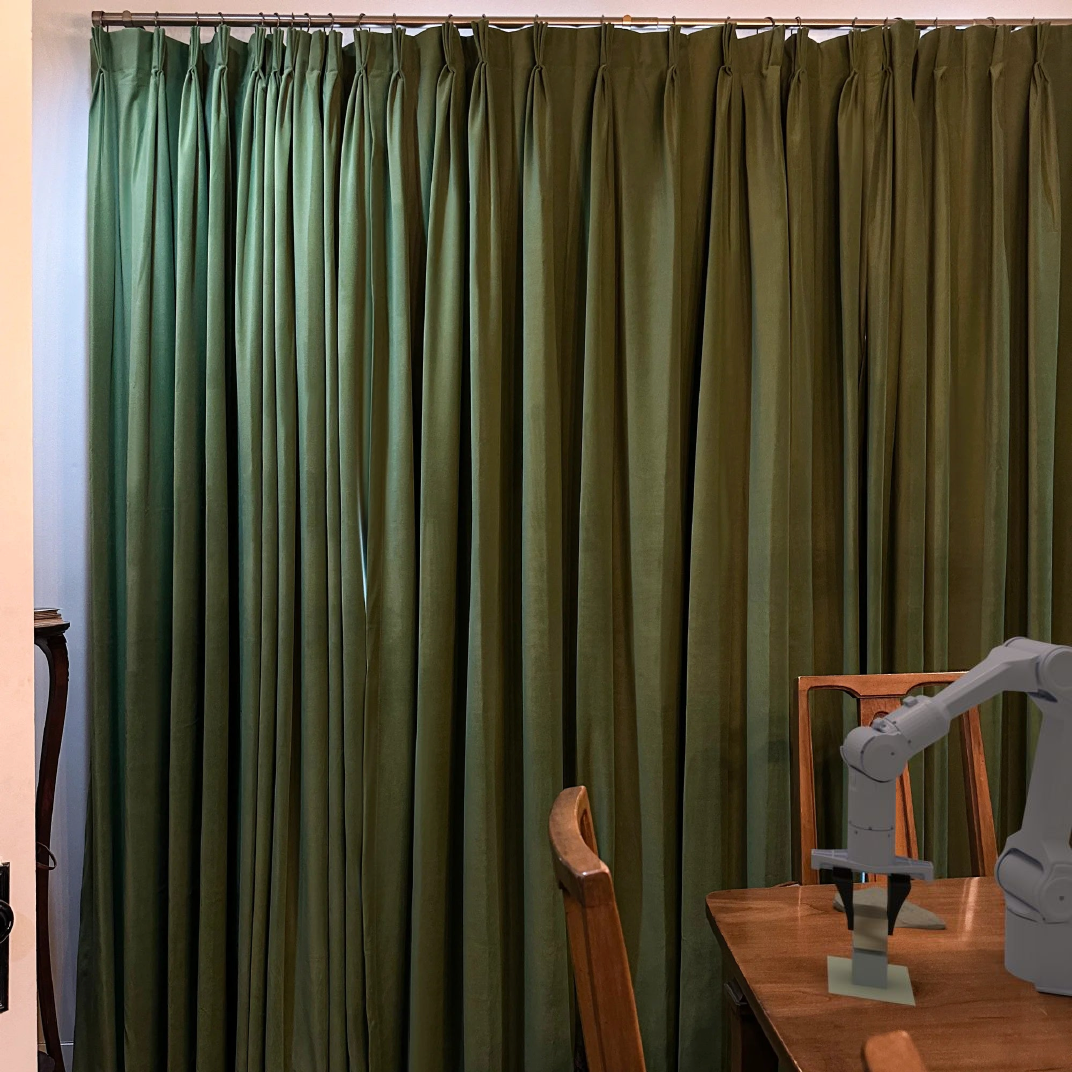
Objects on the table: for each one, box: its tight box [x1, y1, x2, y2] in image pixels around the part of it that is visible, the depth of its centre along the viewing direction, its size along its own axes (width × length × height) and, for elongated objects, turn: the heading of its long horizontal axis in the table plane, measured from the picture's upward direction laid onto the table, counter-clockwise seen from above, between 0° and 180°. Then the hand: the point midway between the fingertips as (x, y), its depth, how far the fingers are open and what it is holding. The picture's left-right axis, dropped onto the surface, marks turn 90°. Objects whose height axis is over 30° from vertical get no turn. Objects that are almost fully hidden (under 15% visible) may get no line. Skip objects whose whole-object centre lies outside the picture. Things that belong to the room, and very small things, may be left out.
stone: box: [832, 886, 947, 930], centre depth 136 cm, size 15×11×3 cm
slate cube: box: [851, 938, 889, 989], centre depth 116 cm, size 4×4×4 cm
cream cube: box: [851, 903, 889, 953], centre depth 116 cm, size 4×4×4 cm
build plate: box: [826, 955, 916, 1007], centre depth 116 cm, size 10×10×1 cm
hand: (869, 929), depth 116 cm, fingers closed on cream cube, 4 cm apart
